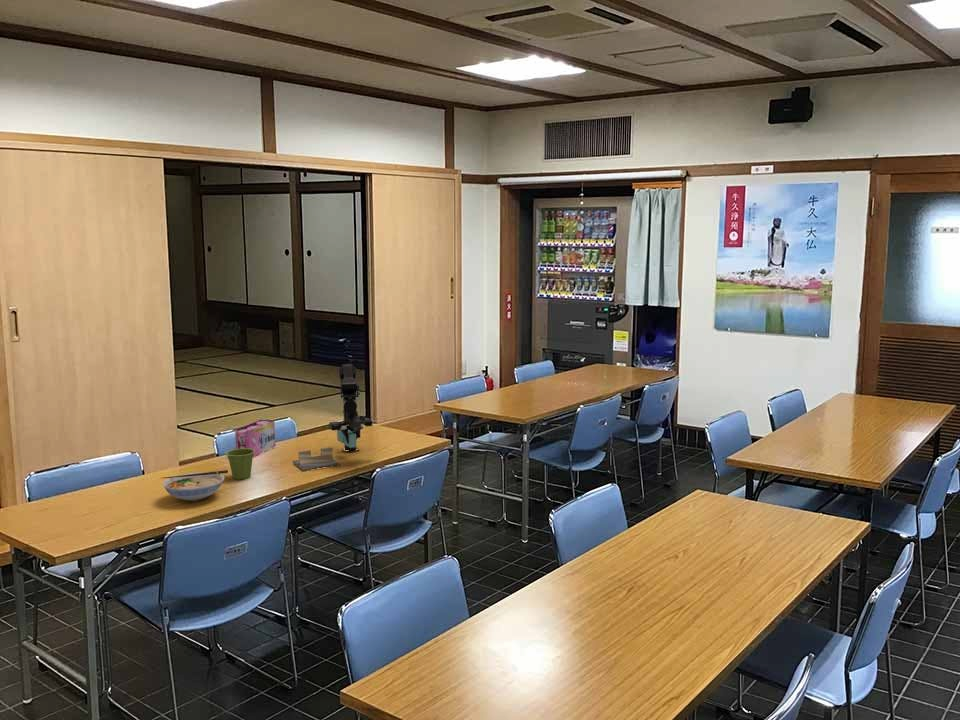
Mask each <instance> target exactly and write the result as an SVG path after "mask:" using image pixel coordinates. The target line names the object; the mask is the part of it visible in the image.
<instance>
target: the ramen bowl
mask: <svg viewBox="0 0 960 720" xmlns="http://www.w3.org/2000/svg"><path fill="white" fill-rule="evenodd" d="M228 473H229V470H228V469H226V470H225V469H224V470H216V471H207V472H205V471H203V472H201V471H200V472H190V473H185V474H180V475H179V474H178V475H174V476H165V477H161V478H160V479H161V480H162V479H165V480H164V481H163V482H162V486H163V488H164V489H165V491H166V492H167V493H168V494H169V495H170V496H172V497H174V498H176V499H177V500H183V501H186V502H198V501H202V500H203V499H205V498H208V497H209V496H211V495H214V493H216V492H217V491H218V489H219V488H220V487H221V486H222V484H223V483H224V480H225V476H224V475H223V474H228Z"/></svg>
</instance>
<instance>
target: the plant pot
mask: <svg viewBox="0 0 960 720" xmlns="http://www.w3.org/2000/svg"><path fill="white" fill-rule="evenodd" d="M254 452H255V450H253V449H236V448H235V449H231V450H228V451H225V455H226V456H227V460H228V461H229V467H230V471H231V475H232V478H233V480H237V481H239V480H248V479H249V478H251V476H252V475H251V474H252V466H253V460H254V457H253V455H254Z"/></svg>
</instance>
